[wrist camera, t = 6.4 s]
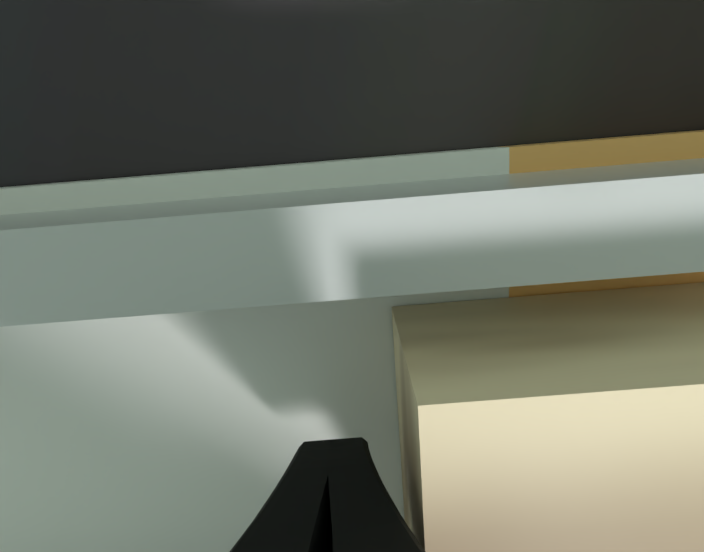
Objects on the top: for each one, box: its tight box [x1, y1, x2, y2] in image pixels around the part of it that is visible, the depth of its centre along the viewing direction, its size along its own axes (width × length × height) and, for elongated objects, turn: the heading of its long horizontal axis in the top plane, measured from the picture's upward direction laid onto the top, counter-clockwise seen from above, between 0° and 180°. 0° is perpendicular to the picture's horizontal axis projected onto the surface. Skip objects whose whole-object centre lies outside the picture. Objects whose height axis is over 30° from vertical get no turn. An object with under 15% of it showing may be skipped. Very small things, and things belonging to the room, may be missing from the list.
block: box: [391, 282, 704, 552], centre depth 9 cm, size 6×8×4 cm
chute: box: [0, 130, 704, 552], centre depth 10 cm, size 12×28×3 cm, turn 94°
